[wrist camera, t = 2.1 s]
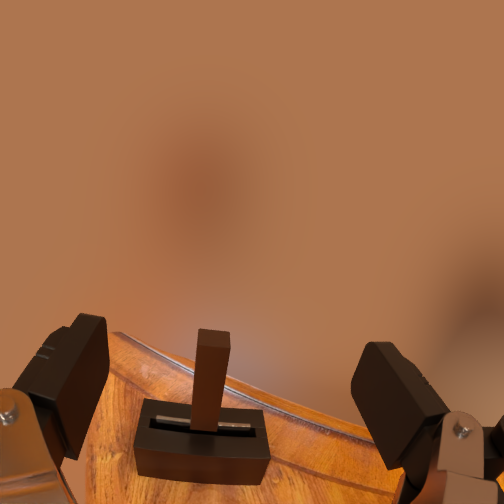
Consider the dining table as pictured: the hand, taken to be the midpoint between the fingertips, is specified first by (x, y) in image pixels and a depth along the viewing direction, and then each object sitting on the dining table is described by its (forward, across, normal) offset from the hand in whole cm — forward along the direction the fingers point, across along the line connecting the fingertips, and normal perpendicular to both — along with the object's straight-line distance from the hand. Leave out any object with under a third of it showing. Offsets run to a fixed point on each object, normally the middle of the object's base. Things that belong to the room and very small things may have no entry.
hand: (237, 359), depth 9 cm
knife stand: (+11, 0, +22) cm, 24 cm away
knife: (+11, 0, +22) cm, 24 cm away
